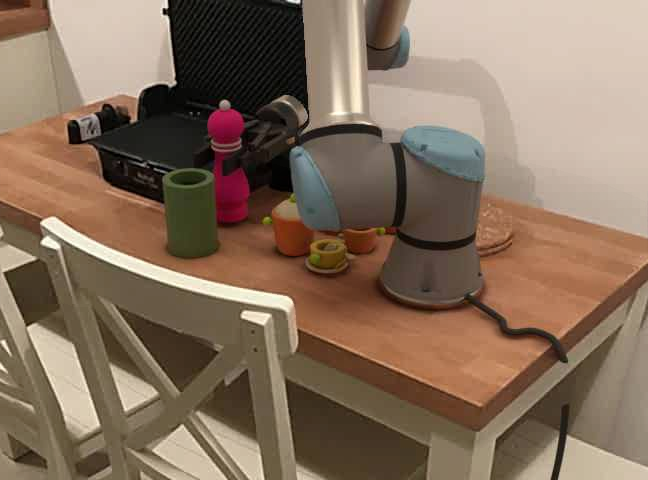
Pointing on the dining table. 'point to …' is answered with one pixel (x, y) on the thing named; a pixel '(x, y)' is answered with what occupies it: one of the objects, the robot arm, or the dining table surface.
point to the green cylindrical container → (190, 212)
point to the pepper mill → (225, 141)
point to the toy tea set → (324, 252)
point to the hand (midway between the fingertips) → (209, 164)
